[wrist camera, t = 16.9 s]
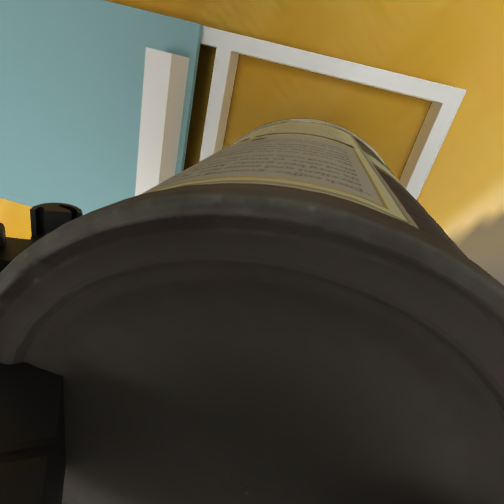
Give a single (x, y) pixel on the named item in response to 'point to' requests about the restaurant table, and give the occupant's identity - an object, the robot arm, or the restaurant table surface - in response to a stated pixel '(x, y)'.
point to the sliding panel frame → (235, 44)
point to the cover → (92, 100)
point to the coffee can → (267, 336)
